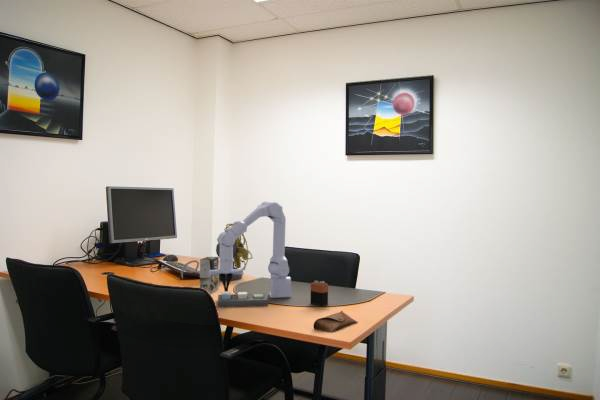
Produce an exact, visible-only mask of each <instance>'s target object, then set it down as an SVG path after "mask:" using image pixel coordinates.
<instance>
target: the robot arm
mask: <svg viewBox="0 0 600 400" xmlns="http://www.w3.org/2000/svg"><path fill="white" fill-rule="evenodd" d="M261 217H267V218H268V219H270V220H271V221H272V223H273V229H272V230H273V235H272V238H273V239H272V241H273V242H272V255H271V257H270V260H269V264H268V265H267V270H268V272H269V274H270V292H269V293H268V294H269V297H270V299H272V298H273V299H275V298H277V299H278V298H292V278H291V276H288V275H289V273H290V266H289V264H288V263H289V262H288V259H287V258H286V255H285V253H286V252H285V249H286V216H285V213H284V211H283V206H282V205H281V204H280V203H279V202H275V201H273V202H271V201H263V202H261V204H258V205H257V206H256V208H255V209H254V210H253V211H251V212H250V213H249V214H247V216H246V217H245V218H244V219H243V220H238V221H236V220H235V221H234V222H233V224H234V225H233V226H229V228H227V229H225V230H226V232H225V231H223V232H221V233H219V235H218V237H217V238H216V240H217V244H218V243H219V244H220V258H219V269H217V270H209V275H220V278H221V280H220V281H221V283H222V286H223V288H224V293H229V286H230V283H231V279H232V274H241V275H242V276H243V275H244V270H243V269H242V268H237V269H233V261H234V259H233V245H234V243H235V240H236V239H237V238H238V237H239V238H240V236H241V237H242V234H245V233H247V229H248V226H251V225H252V224H253V223H254V222H256V221H257V220H258V219H260V218H261ZM226 275H227V281H226Z"/></svg>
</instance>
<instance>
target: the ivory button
mask: <svg viewBox="0 0 600 400" xmlns="http://www.w3.org/2000/svg"><path fill="white" fill-rule="evenodd" d="M237 294H238V299H246V298H247V294H248V292H247V291H239V292H237Z"/></svg>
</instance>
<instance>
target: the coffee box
mask: <svg viewBox="0 0 600 400" xmlns="http://www.w3.org/2000/svg"><path fill="white" fill-rule="evenodd" d="M217 269H220V258H219V257H218V256H206V257H203V258H201V259H199V275H200V276H199V289H200V288H203V289H205V290H207V291H208V292H209V293H208V294H214V293H215V292H216V291H218V290H220V288H219V285H220V284H219V283H220V282H219V281H220V280H219V275H209V270H217Z"/></svg>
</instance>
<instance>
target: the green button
mask: <svg viewBox="0 0 600 400" xmlns="http://www.w3.org/2000/svg"><path fill="white" fill-rule="evenodd" d="M253 294H254V298H263V293H253Z"/></svg>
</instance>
